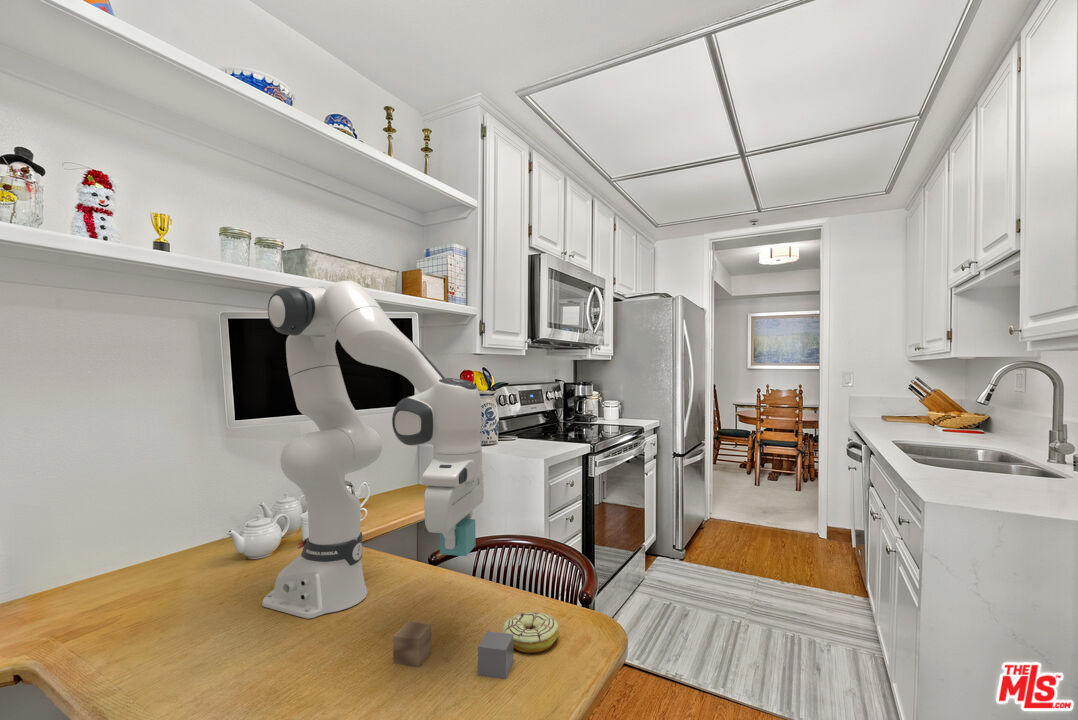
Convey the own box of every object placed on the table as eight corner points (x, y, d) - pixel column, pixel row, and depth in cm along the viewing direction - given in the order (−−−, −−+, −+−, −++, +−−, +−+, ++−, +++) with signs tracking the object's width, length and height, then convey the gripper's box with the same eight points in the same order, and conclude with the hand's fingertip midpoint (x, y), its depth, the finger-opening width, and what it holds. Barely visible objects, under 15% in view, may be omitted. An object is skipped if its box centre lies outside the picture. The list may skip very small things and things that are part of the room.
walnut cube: (393, 664, 87) (393, 636, 87) (406, 648, 92) (406, 621, 92) (419, 667, 86) (418, 639, 86) (431, 651, 90) (431, 624, 91)
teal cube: (439, 554, 87) (439, 526, 87) (450, 544, 92) (450, 517, 92) (466, 556, 86) (466, 528, 86) (475, 545, 91) (475, 519, 91)
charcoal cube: (478, 675, 83) (478, 646, 83) (486, 658, 88) (486, 631, 88) (506, 679, 82) (506, 650, 82) (513, 662, 87) (513, 634, 87)
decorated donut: (518, 621, 101) (518, 603, 101) (566, 633, 97) (566, 614, 97) (493, 647, 92) (493, 627, 92) (544, 662, 87) (544, 641, 87)
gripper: (462, 455, 100) (462, 522, 100) (417, 477, 80) (417, 561, 80) (491, 456, 99) (491, 524, 99) (453, 479, 79) (453, 564, 79)
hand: (457, 541), depth 89 cm, fingers closed on teal cube, 5 cm apart
